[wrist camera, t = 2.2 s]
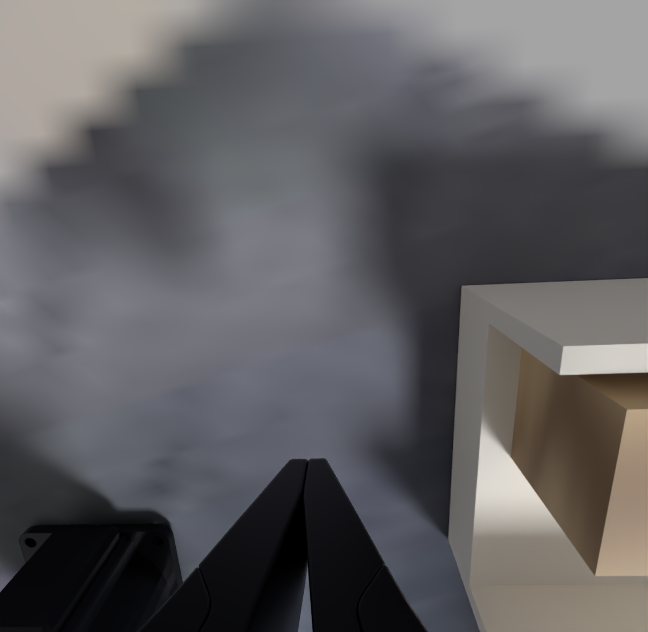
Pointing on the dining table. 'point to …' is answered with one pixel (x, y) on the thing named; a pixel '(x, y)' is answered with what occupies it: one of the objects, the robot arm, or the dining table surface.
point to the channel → (505, 477)
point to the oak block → (588, 460)
